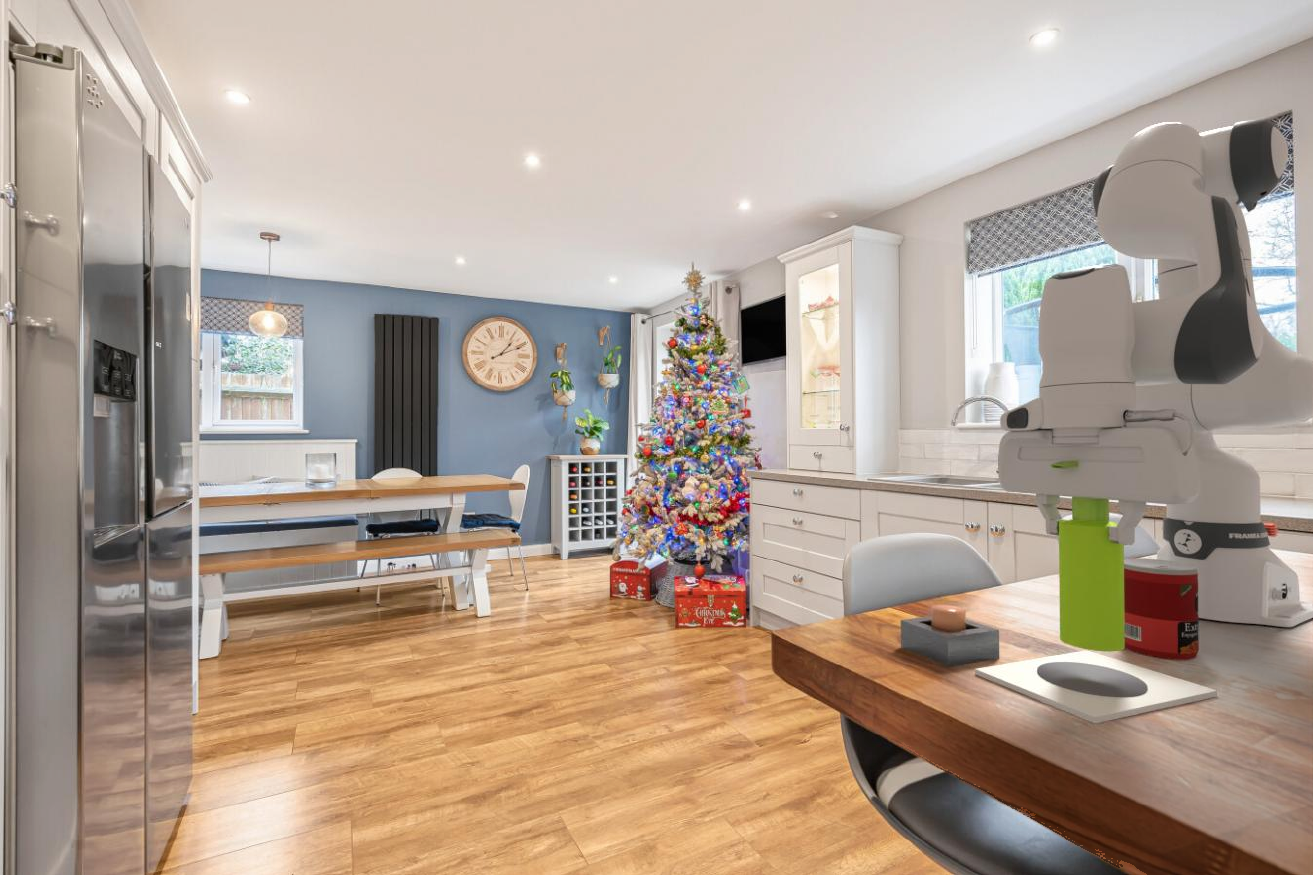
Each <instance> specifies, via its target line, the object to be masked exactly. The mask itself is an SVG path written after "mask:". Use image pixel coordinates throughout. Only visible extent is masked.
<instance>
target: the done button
mask: <svg viewBox="0 0 1313 875" xmlns="http://www.w3.org/2000/svg"><path fill="white" fill-rule="evenodd" d="M966 613H967V612H966V609H965V608H963V607H960V606H956V605H949V604H948V605H947V604H938V605H937V604H935V605H932V606H931V607H930V616H931V627H934V628H937V629H940V630H943V631H945V632H955V631H962V630H966V620H967V619H966V618H967V614H966Z"/></svg>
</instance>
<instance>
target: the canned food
mask: <svg viewBox="0 0 1313 875" xmlns="http://www.w3.org/2000/svg"><path fill="white" fill-rule="evenodd" d="M1124 622H1125V648H1124V649H1126V650H1128V651H1130V652H1132V653H1136V654H1139V655H1142V656H1146V657H1151V658H1157V659H1163V660H1172V661H1188V660H1194V659H1196V657H1197V656H1198V653H1199V651H1200V645H1199V644H1200V642H1199V641H1200V640H1199V639H1200V638H1199V637H1200V636H1199V627H1200V625H1199V618H1198V572H1197V567H1195V566H1193V565H1190V564H1186V563H1181V562H1175V561H1167V560H1158V559H1157V558H1156V559H1155V558H1138V557H1137V558H1136V557H1135V558H1131V557H1130V558H1124Z"/></svg>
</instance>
